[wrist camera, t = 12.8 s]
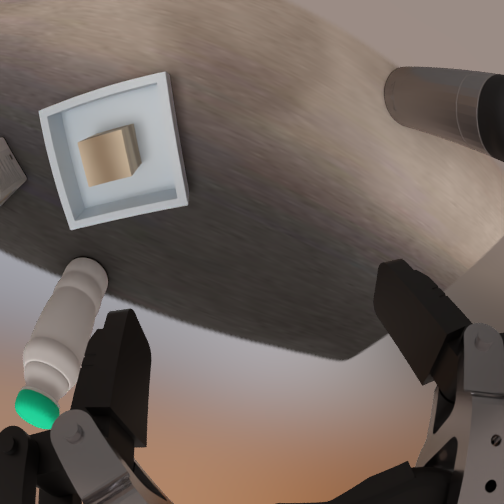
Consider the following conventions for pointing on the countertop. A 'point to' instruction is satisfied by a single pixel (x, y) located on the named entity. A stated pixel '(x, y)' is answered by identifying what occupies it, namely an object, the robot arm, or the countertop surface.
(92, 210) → the gray bin
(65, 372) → the water bottle
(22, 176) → the container
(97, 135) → the maple block
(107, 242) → the countertop surface
